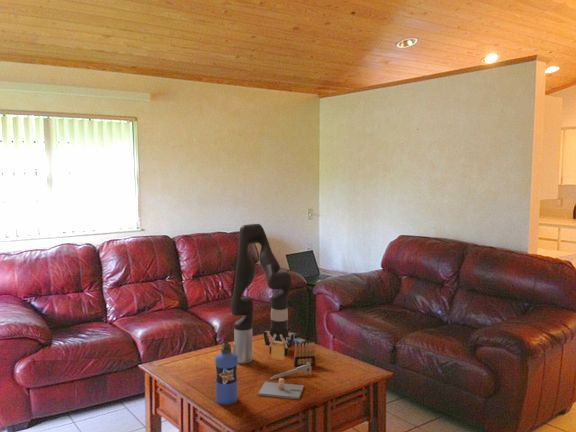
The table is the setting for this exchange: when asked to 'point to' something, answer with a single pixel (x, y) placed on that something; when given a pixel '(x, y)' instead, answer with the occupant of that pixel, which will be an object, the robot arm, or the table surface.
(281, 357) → the mustard yellow cube
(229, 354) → the water bottle
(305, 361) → the ammunition clip
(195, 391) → the table surface
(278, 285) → the robot arm
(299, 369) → the caliper
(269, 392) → the post board
